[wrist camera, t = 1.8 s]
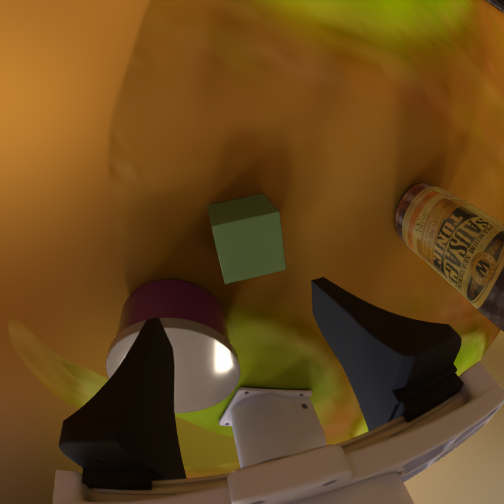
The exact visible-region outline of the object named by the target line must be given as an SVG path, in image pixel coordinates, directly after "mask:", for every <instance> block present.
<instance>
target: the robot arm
mask: <svg viewBox="0 0 504 504" xmlns="http://www.w3.org/2000/svg"><path fill="white" fill-rule="evenodd" d="M311 283H312V305H313V315H314V317H315V320H316V322H317V324H318V327H319V329H320V331H321V332H322V334H323V336H324V337H325V339H326V341H327V342H328V344H329V346H330V347H331V349H332V350H333V352H334V354H335V355H336V357H337V358H338V360H339V362H340V363H341V365H342V367H343V369H344V370H345V373H346V375H347V377H348V379H349V381H350V383H351V386H352V388H353V390H354V393H355V395H356V397H357V400H358V402H359V405H360V408H361V410H362V413H363V415H364V418H365V421H366V424H367V427H368V430H369V432H366V433H364V434H361V435H359V436H357V437H354V438H352V439H349V440H347V441H344V442H341V443H339V444H336V445H326V438H325V434H324V431H323V429H322V426H321V424H320V422H319V419H318V417H317V415H316V412H315V410H314V408H313V405H312V403H311V401H310V398H309V397H310V396H311V395H312V392H311V391H310V390H277V389H259V388H245V387H241V388H239V389H238V390H237V392H236V393H235V395H234V397H233V399H232V400H231V402H230V404H229V405H228V407H227V409H226V411H225V412H224V414H223V416H222V417H221V419H220V421H219V424H220V425H222V426H232V428H233V433H234V438H235V443H236V448H237V452H238V457H239V462H240V466H241V468H239V469H237V470H235V471H233V472H231V473H227V474H220V475H214V476H206V477H198V478H189V479H187V478H186V474H185V470H184V466H183V462H182V457H181V453H180V447H179V442H178V436H177V429H176V422H175V413H174V382H175V364H174V354H173V347H172V345H171V343H170V341H169V338H168V336H167V334H166V332H165V330H164V327H163V325H162V323H161V321H160V318H159V317H156V318H151V319H147V320H146V322H145V323H144V325H143V327H142V328H141V330H140V332H139V334H138V336H137V337H136V339H135V341H134V343H133V345H132V346H131V348H130V350H129V351H128V353H127V355H126V356H125V358H124V359H123V361H122V362H121V364H120V366H119V367H118V368H117V370H116V371H115V372H114V374H113V375H112V376H111V378H110V379H109V380H108V381H107V383H106V384H105V385H104V386H103V387H102V388H101V389H100V390H99V391H98V392H97V393H96V395H95V396H94V397H92V398H91V399H90V400H89V401H88V402H87V403H86V404H85V405H84V406H83V407H81V408H80V409H79V410H78V411H77V412H75V413H74V414H72V415H71V416H70V417H68V418H67V419H66V420H64V421H63V426H62V430H61V436H60V441H59V448H60V450H61V451H62V452H63V453H64V454H65V455H66V456H67V457H68V458H70V459H71V460H72V461H74V462H75V463H77V464H78V465H79V466H81V467H82V468H83V474H81V473H78V472H74V471H66V470H56V476H55V484H54V495H53V496H54V497H53V504H414V502H413V500H412V498H411V496H410V494H409V493H408V491H407V489H406V487H405V485H404V483H403V482H405V481H407V480H408V479H410V478H412V477H413V476H415V475H417V474H418V473H420V472H421V471H423V470H425V469H426V468H428V467H429V466H431V465H432V464H434V463H435V462H437V461H438V460H440V459H441V458H442V457H444V456H445V455H447V454H448V453H449V452H451V451H452V450H454V449H455V448H456V447H458V446H459V445H460V444H461V443H463V442H464V441H466V440H467V439H468V438H469V437H471V436H472V435H473V434H474V433H476V432H477V431H478V430H479V429H481V428H482V427H483V426H484V425H485V424H486V423H487V422H488V421H489V420H490V419H491V418H492V416H493V415H494V414H495V413H496V412H497V410H498V409H499V408H500V407H501V405H502V404H503V403H504V390H503V388H502V387H501V386H500V385H499V384H498V382H497V381H496V380H495V379H494V378H493V376H492V375H491V374H490V373H489V372H488V370H487V369H486V368H485V367H484V366H483V365H482V364H481V362H477V363H476V364H474V365H473V366H471V367H470V368H469V369H467V370H466V371H464V372H463V373H462V374H461V375H460V376H459V377H458V376H457V374H456V373H455V372H456V371H457V368H456V367H455V365H454V364H453V363H454V361H455V359H456V356H457V354H458V352H459V350H460V347H461V340H462V339H461V337H460V336H459V335H458V334H457V332H456V331H455V330H454V329H453V328H452V327H451V326H450V325H449V324H440V323H431V322H425V321H420V320H415V319H411V318H407V317H404V316H400V315H397V314H394V313H391V312H388V311H386V310H383V309H381V308H378V307H376V306H374V305H371V304H369V303H367V302H365V301H363V300H361V299H360V298H358V297H356V296H354V295H352V294H351V293H349V292H347V291H345V290H344V289H342V288H340V287H339V286H337V285H336V284H334V283H332V282H331V281H329V280H327V279H326V278H324V277H322V278H319V279H315V280H311Z"/></svg>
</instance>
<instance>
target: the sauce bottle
mask: <svg viewBox="0 0 504 504" xmlns="http://www.w3.org/2000/svg"><path fill="white" fill-rule="evenodd" d="M395 228H396V231H397V233H398V235H399V236H400V238H401V239H402V240H403V241H404V242H405V244H406V245H407V247H408V248H410V249H411V250H412V251H413V252H414V253H416V254H417V255H418V256H419V257H421V258H422V259H423V260H424V261H425V262H426V263H428V264H429V265H430V266H431V267H432V268H433V269H434V270H435V271H436V272H438V273H439V274H440V275H441V276H442V277H443V278H444V279H445V280H446V281H448V282H449V283H450V284H451V285H452V286H453V287H454V288H455V289H456V290H458V291H459V292H460V293H461V294H462V295H463V296H464V297H465V298H466V299H467V300H468V301H469V302H470V303H471V304H472V305H473V306H474V307H475V308H476V309H477V310H479V311H480V312H481V313H482V314H483V315H485V316H486V317H487V318H488V319H489V320H490V321H492V322H493V323H494V324H495V325H496V326H497V327H498V328H500V329H501V330H502V331H504V224H503V223H502V222H500V221H499V220H497V219H495V218H494V217H492V216H490V215H489V214H487V213H485V212H484V211H482V210H480V209H479V208H477V207H475V206H474V205H472V204H470V203H468V202H466V201H465V200H463V199H461V198H459V197H457V196H455V195H454V194H452V193H450V192H448V191H446V190H444V189H442V188H440V187H435V186H433V185H432V184H428V183H419V184H416V185H414V186H412V187H411V188H410V189H409V190H408V191H407V192H406V193H405V194H404V195H403V197H402V198H401V199H400V203H399V204H398V206H397V210H396V216H395Z"/></svg>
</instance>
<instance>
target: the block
mask: <svg viewBox="0 0 504 504" xmlns="http://www.w3.org/2000/svg"><path fill="white" fill-rule="evenodd" d="M207 207H208V212H209V218H210V223H211V228H212V232H213V237H214V241H215V245H216V250H217V254H218V258H219V263H220V267H221V271H222V275H223V279H224V283H225V284H228V283H232V282H236V281H241V280H245V279H249V278H253V277H258V276H262V275H266V274H270V273H274V272H278V271H282V270H286V265H285V256H284V247H283V238H282V229H281V221H280V212H279V211H278V210H277V208H276V207H275V206H274V205H273V204H272V203H271V202H270V200H269V199H268V198H267V197H266V196H265V195H264V194H258V195H253V196H248V197H244V198H239V199H234V200H229V201H225V202H220V203H216V204H211V205H208V206H207Z"/></svg>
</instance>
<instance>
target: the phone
mask: <svg viewBox="0 0 504 504" xmlns="http://www.w3.org/2000/svg"><path fill="white" fill-rule="evenodd" d="M486 1H488V2H489V3H491V4H492V5H493V6H495V7H496V8H497V9H499V10H500V11H501V12H503V13H504V0H486Z"/></svg>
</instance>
